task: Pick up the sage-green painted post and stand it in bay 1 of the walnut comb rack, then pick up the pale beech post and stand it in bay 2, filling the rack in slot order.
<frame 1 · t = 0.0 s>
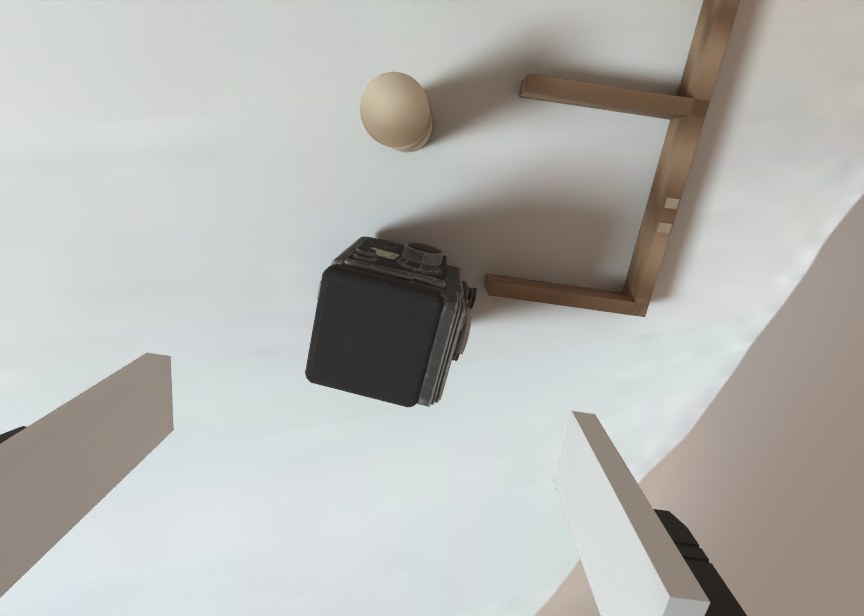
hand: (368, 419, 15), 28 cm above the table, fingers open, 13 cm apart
camera: (410, 285, 42), on the table
rack: (604, 101, 37), on the table
beech post: (407, 124, 38), on the table
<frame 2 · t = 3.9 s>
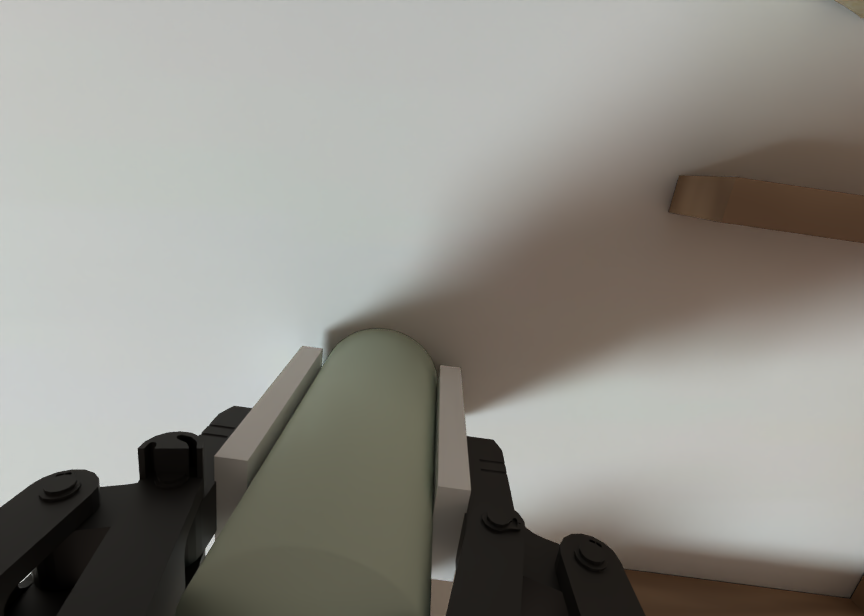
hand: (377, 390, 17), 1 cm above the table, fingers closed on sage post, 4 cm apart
rack: (717, 592, 20), on the table
sage post: (380, 382, 17), on the table, touching gripper
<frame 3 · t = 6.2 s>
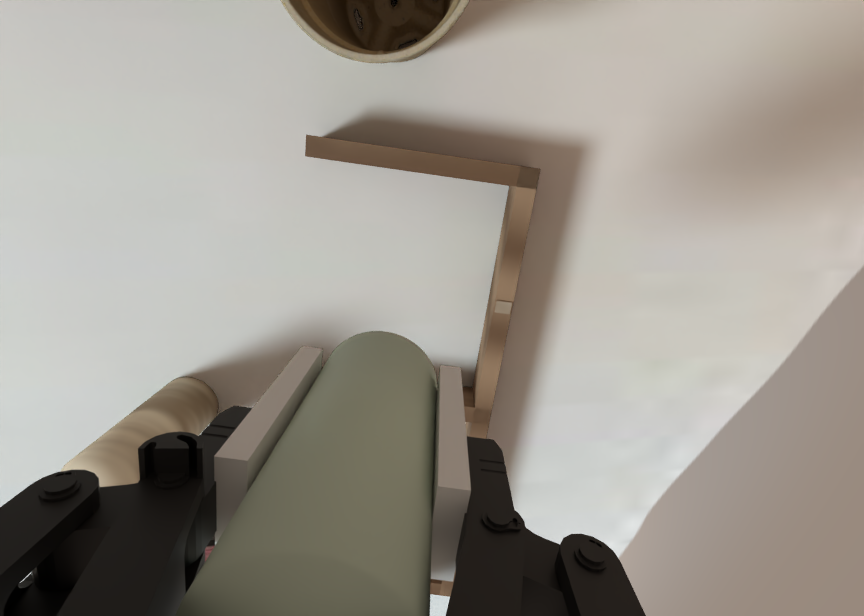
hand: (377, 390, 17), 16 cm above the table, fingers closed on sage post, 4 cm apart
flower pot: (394, 8, 27), on the table
rack: (396, 384, 34), on the table
sage post: (379, 384, 17), point 15 cm above the table, touching gripper
beech post: (190, 402, 35), on the table
when the fingers open (2 cm above the table, at t = 8.9 s): sage post drops 2 cm, on the table.
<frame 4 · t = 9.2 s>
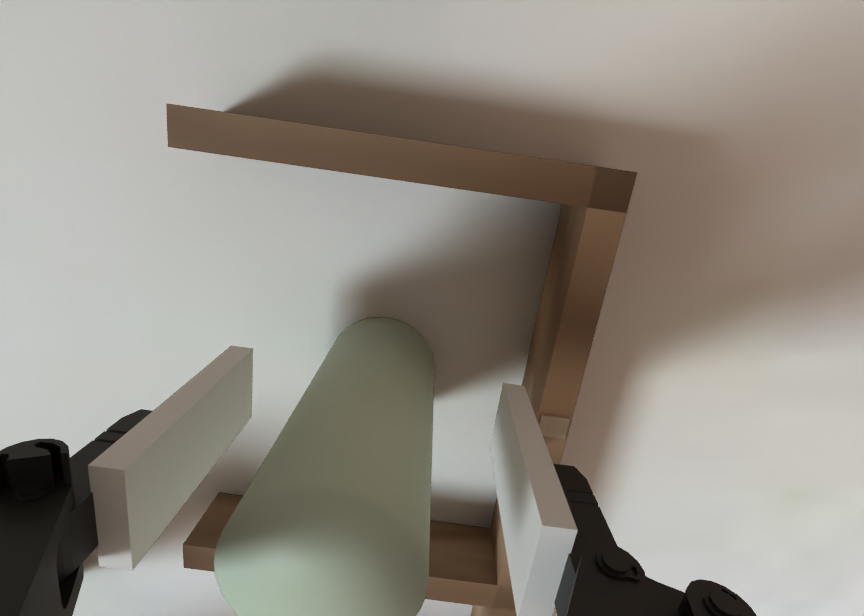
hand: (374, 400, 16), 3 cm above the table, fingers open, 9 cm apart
rack: (366, 522, 21), on the table
sage post: (381, 367, 19), on the table
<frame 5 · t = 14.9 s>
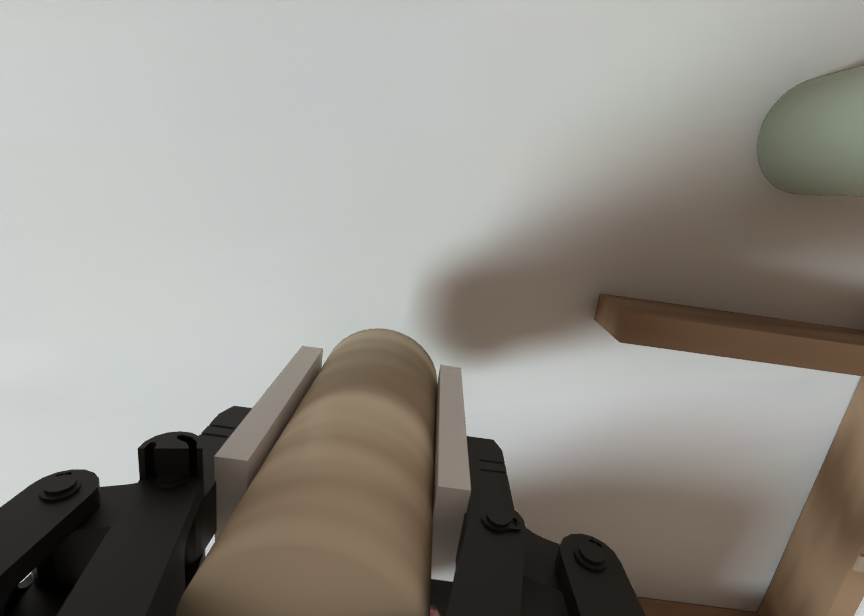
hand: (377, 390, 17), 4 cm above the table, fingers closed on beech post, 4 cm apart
camera: (396, 594, 25), on the table
rack: (750, 328, 20), on the table
sage post: (813, 137, 18), on the table
beech post: (380, 382, 17), point 4 cm above the table, touching gripper
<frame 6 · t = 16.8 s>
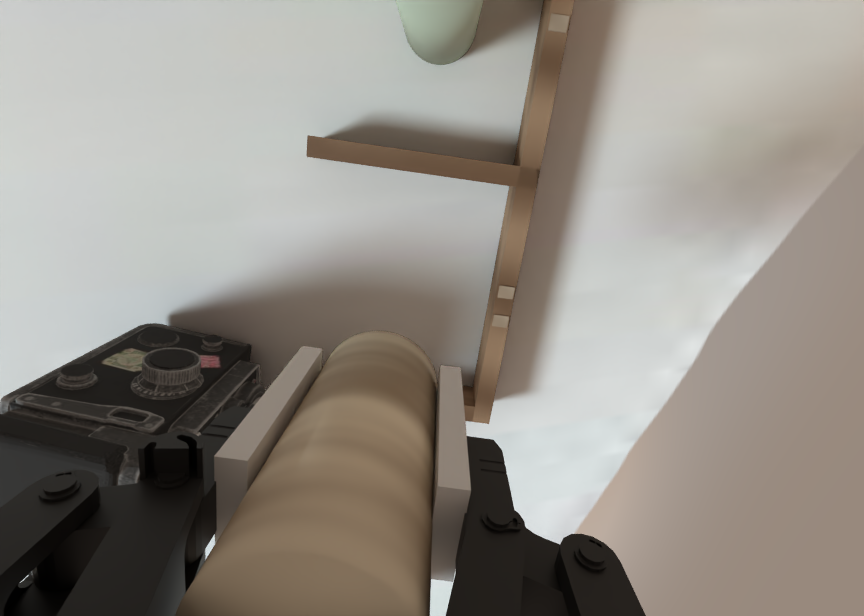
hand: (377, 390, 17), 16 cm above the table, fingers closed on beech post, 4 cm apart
camera: (218, 376, 35), on the table
rack: (425, 163, 30), on the table
sage post: (440, 24, 27), on the table
beech post: (379, 384, 17), point 16 cm above the table, touching gripper
when the fingers open (2 cm above the table, at t = 19.5 s): beech post drops 2 cm, on the table.
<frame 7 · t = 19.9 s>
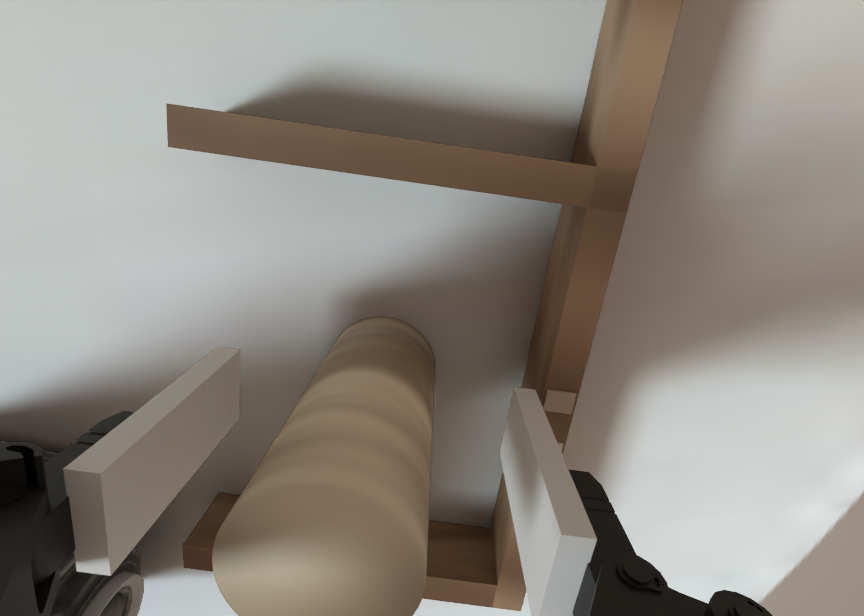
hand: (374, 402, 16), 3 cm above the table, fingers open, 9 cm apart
camera: (76, 507, 22), on the table
rack: (409, 161, 16), on the table
beech post: (382, 366, 19), on the table
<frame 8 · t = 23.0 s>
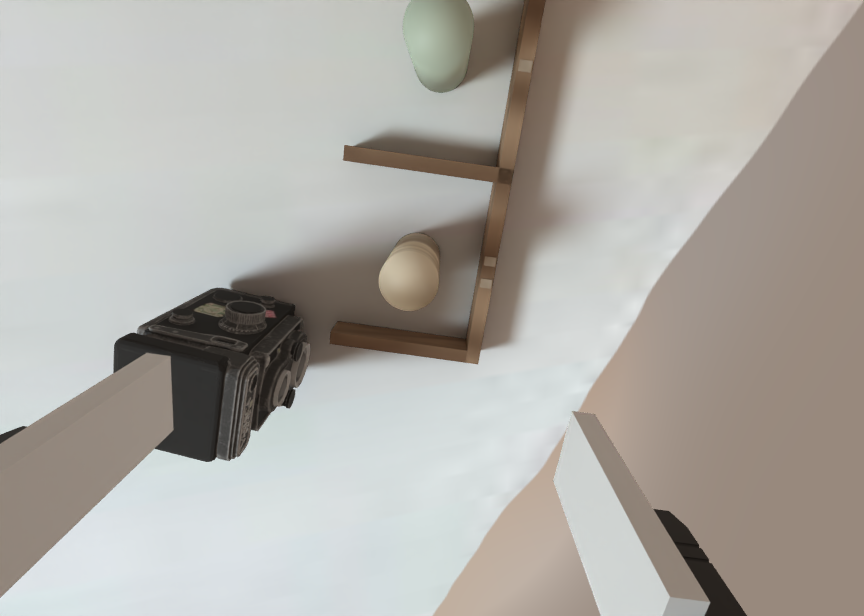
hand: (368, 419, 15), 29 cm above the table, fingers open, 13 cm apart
camera: (267, 331, 45), on the table
rack: (429, 165, 40), on the table
sage post: (441, 63, 37), on the table
beech post: (416, 256, 42), on the table
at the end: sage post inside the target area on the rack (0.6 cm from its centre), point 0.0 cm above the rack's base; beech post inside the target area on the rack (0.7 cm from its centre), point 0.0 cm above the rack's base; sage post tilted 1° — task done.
